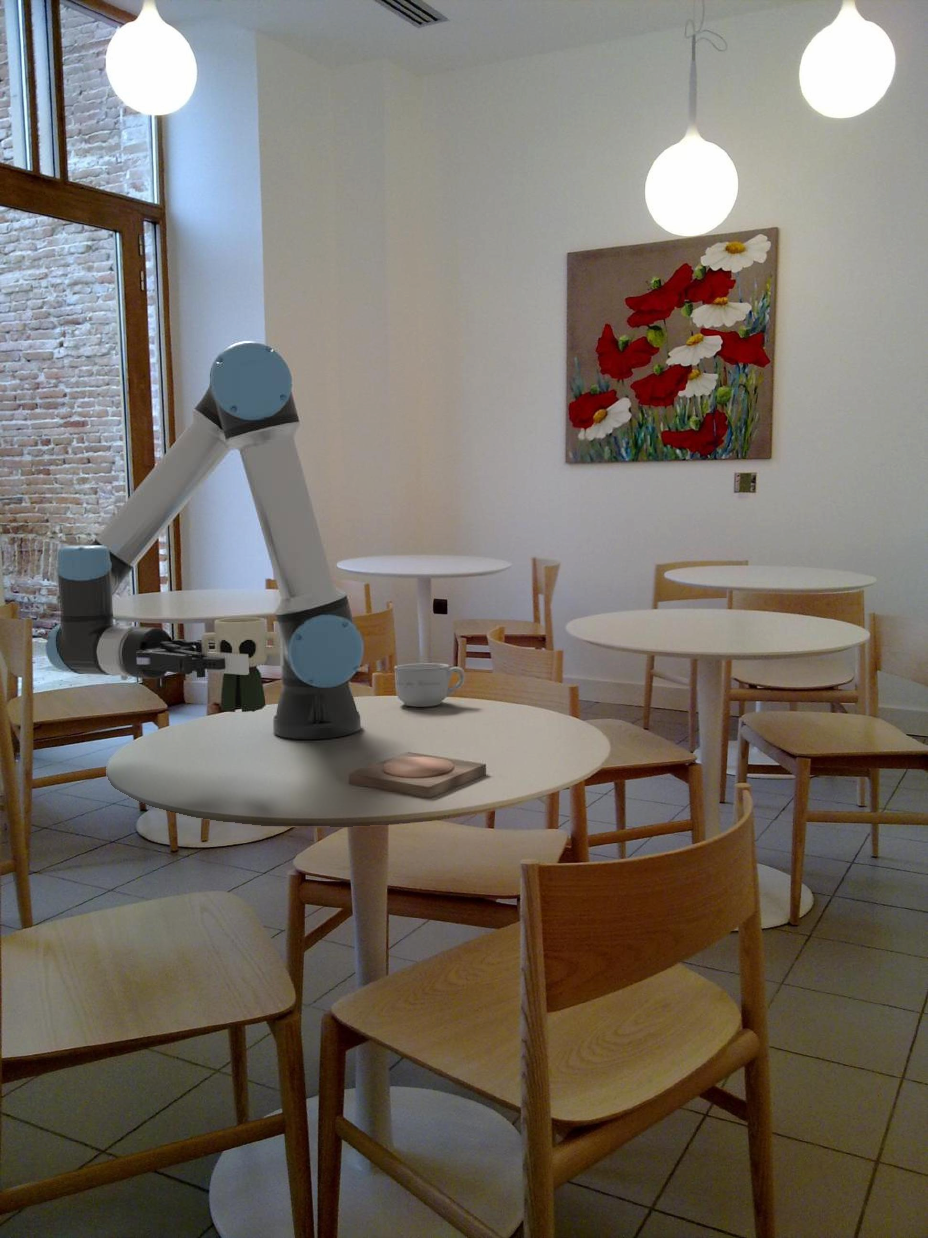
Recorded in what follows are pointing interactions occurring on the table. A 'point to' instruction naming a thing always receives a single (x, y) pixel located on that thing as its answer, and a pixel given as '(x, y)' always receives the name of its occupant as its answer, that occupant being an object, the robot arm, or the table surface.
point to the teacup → (425, 683)
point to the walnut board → (417, 774)
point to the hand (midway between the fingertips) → (264, 660)
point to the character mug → (250, 640)
